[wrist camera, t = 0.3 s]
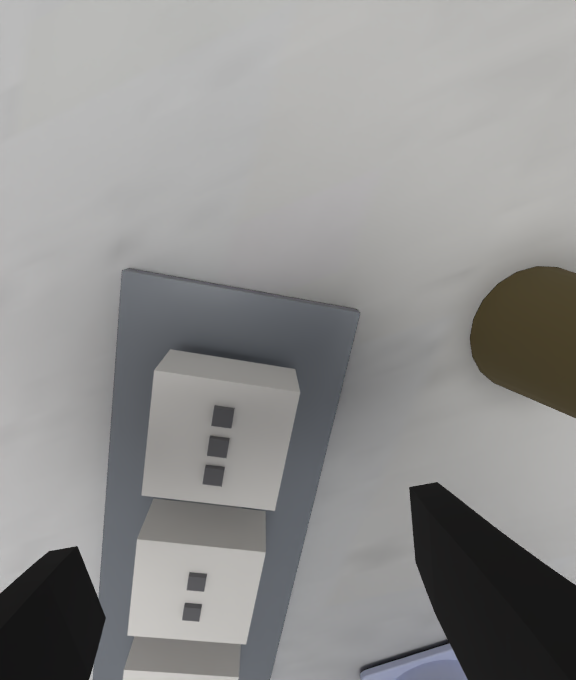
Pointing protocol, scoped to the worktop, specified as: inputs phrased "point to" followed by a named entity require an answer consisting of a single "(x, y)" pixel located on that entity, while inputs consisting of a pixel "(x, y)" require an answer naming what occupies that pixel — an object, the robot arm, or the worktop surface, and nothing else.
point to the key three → (219, 430)
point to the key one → (181, 660)
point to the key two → (197, 572)
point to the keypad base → (133, 420)
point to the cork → (530, 336)
